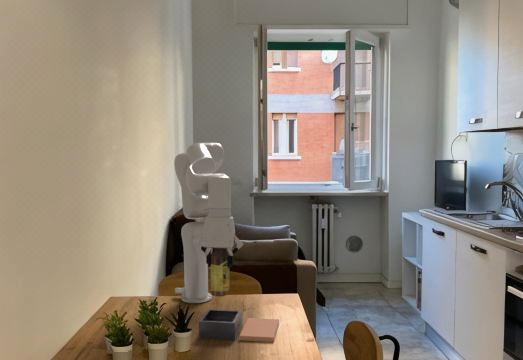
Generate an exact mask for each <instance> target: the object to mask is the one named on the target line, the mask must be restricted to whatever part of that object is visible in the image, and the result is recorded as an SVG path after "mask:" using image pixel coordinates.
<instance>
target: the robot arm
mask: <svg viewBox="0 0 523 360" xmlns="http://www.w3.org/2000/svg"><path fill="white" fill-rule="evenodd" d="M224 160H225V149H224V147H223V146H222V144H220V143H218V142H195V143H192V144H190V145H189V146H188V147H187V148H186V152H181V153H178V154H177V155H176V156H175V158H174V163H173V164H174V165H173V166H174V172H175V175H176V177H177V180H178V183H179V184H180V189H181V202H182V204H181V205H182V212H183V215H184V218H186V219H189V220H202V219H205V220H202V221H192V222H191V221H190V222H187V223H185V224H184V225H183V226H182V227H181V231H180V232H181V233H180V236H181V239H182V240H181V241H182V246H183V267H184V269H183V270H184V271H183V274H184V277H183V279H184V282H183V283H184V287H175V288H174V292H175V294H177V295H178V294H181V296H180V301H181V302H183V303H188V304H201V303H207V302H208V301H210V300H212V298H213V295H212V294H211V292H209V272H208V271H209V268H211V255H212V250H213V249H214V248H226V251H227V253H228V267H229V269H231V267H232V266H233V265H234V260H235V259H234V255H235V254H236V253H237V252H238V251H239V250H240V249H241V248H242V247H243V246H244V243H243V242H242V241H241V240H240V239H239V238H238V237H237V236H236V229H235V221H234V217H233V216H232V180H231V177H230V176H228V175H227V174H226V173H220V172H219V173H216V171H217V170H218V169H220V168H221V166H222V164H223V162H224ZM235 245H236V246H235ZM234 246H235V248H234Z"/></svg>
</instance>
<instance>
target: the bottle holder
mask: <svg viewBox="0 0 523 360" xmlns="http://www.w3.org/2000/svg"><path fill="white" fill-rule="evenodd" d="M242 328H243V310H241V309H240V310H235V309H234V310H233V309H216V308H215V309H214V308H207V310H206V311H205V312H204V313H203V314H202V316H201V318H200V319H199V320H198V339H209V340H211V339H213V340H215V339H216V340H225V341H226V340H231V341H232V340H233V341H235V340H236V339H237V337H238V335H239V332H241V329H242Z"/></svg>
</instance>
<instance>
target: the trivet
mask: <svg viewBox="0 0 523 360" xmlns="http://www.w3.org/2000/svg"><path fill="white" fill-rule="evenodd" d="M279 325H280V319H276V318H275V319H274V318H254V317H253V318H252V317H248V318H247V319H246V321H245V324H244V326H243V327H242V330H241V331H240V334H239V341H246V342H248V341H250V342H267V343H274V342H275V339H276V335H277V331H278V328H279Z"/></svg>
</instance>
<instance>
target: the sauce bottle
mask: <svg viewBox="0 0 523 360" xmlns="http://www.w3.org/2000/svg"><path fill="white" fill-rule="evenodd" d="M213 249H214V250H213V251H211V253H212V255H211V266H210V294H211V295H212V297H219V298H220V297H225V296H228V295H229V293H230V268H229V267H228V256H229V253H228V250H227V248H213Z"/></svg>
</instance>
